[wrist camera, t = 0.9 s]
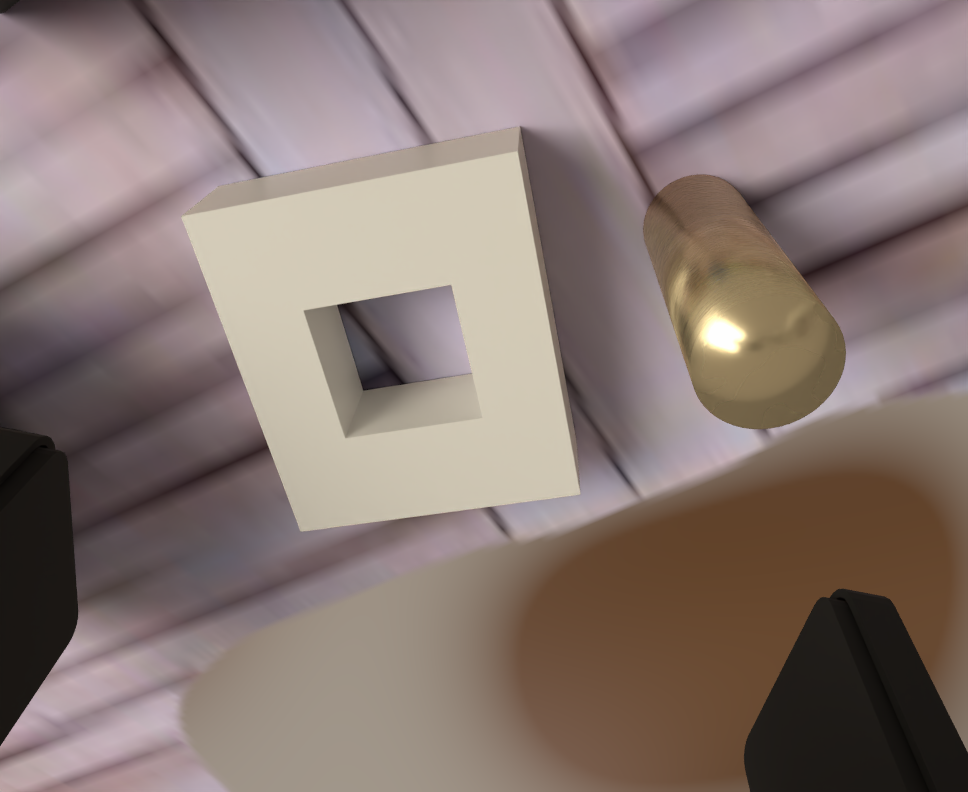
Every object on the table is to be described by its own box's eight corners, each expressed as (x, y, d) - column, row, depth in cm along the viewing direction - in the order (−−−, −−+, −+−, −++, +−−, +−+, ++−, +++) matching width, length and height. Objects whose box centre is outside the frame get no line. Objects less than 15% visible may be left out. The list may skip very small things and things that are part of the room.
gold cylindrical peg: (745, 165, 32) (845, 282, 21) (750, 265, 34) (846, 417, 23) (637, 185, 33) (684, 308, 22) (649, 282, 34) (697, 438, 24)
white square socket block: (520, 126, 32) (517, 151, 28) (576, 442, 38) (580, 494, 35) (218, 186, 34) (181, 216, 30) (321, 478, 40) (300, 531, 36)
